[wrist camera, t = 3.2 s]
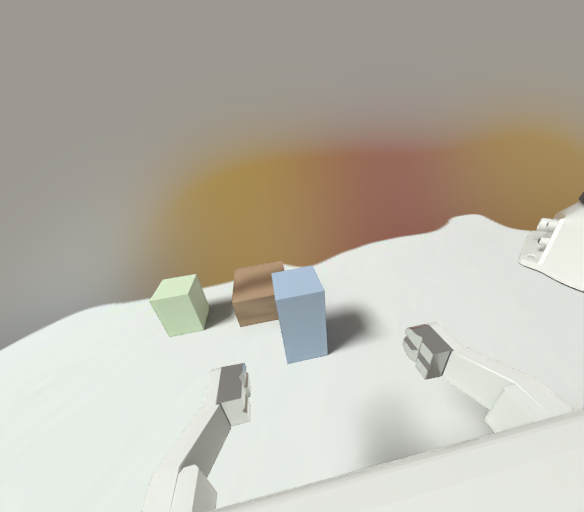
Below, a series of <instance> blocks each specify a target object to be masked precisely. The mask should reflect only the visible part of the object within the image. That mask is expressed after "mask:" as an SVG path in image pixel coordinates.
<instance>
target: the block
mask: <svg viewBox="0 0 584 512" xmlns="http://www.w3.org/2000/svg"><path fill="white" fill-rule="evenodd" d="M149 302H150V303H151V305H152V307H153V309H154V311H155V312H156V314H157V316H158V318H159V319H160V321H161V323H162V325H163V326H164V328H165V330H166V332H167V334H168V335H169V337H173V336H178V335H183V334H188V333H193V332H198V331H203V330H204V328H205V324H206V320H207V316H208V312H209V308H210V307H209V305H208V302H207V300H206V297H205V295H204V292H203V290H202V287H201V285H200V282H199V280H198V277H197V274H193V275H188V276H182V277H177V278H171V279H165V280H163V281H162V282H161V284H160V285H159V287H158V288H157V290H156V291H155V293H154V294H153V296H152V298H151V299H150V301H149Z"/></svg>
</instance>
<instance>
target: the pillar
mask: <svg viewBox="0 0 584 512" xmlns="http://www.w3.org/2000/svg"><path fill="white" fill-rule="evenodd" d="M271 274H272V281H273V288H274V295H275V302H276V307H277V312H278V317H279V322H280V327H281V332H282V337H283V343H284V348H285V353H286V358H287V363H288V364H290V363H294V362H299V361H303V360H308V359H312V358H317V357H321V356H326V355H328V352H327V331H326V311H325V291H324V289H323V287H322V285H321V283H320V280H319V278H318V276H317V274H316V272H315V270H314V268H313V266H308V267H303V268H297V269H292V270H286V271H281V272H276V273H271Z"/></svg>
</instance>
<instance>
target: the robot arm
mask: <svg viewBox="0 0 584 512" xmlns="http://www.w3.org/2000/svg"><path fill="white" fill-rule="evenodd" d="M579 200H580V201H579V202H578V203H576V204H574V205H572V206H570V207H568V208H566V209H564V210H562V211H560V212H558V213H557V214H556V215H555V217H554V219H547V218H542V219H541V220H540V222H539V225H538V227H537V230H538V231H531V232H530V233H529V235H528V236H527V239H526V241H525V244H524V247H523V249H522V252H521V254H520V257H519V259H518V262H519V263H520V264H522V265H524V266H527V267H529V268H532V269H535V270H538V271H540V272H542V273H544V274H546V275H548V276H550V277H551V278H553V279H555V280H557V281H559V282H561V283H563V284H565V285H568V286H570V287H573V288H575V289H578V290H581V291H584V192H583V193H582V195H581V196H580V197H579ZM405 334H406V335H407V336H406V337H405V338H404V339H403V347H404V350H405V352H406V354H407V356H408V357H409V359H411V360H413V361H415V362H416V368H417V369H418V371H419V372H420V373H421V375H422V376H423V378H424V379H425V380H426V379H431V378H436V377H441V376H442V378H444V379H445V380H447V381H448V382H450V383H451V384H453V385H454V386H455V387H457V388H458V389H460V390H461V391H463V392H464V393H466V394H467V395H469V396H470V397H472V398H473V399H475V400H476V401H477V402H479V403H480V404H482V405H483V406H485V407H486V408H488V409H489V412H488V414H487V415H486V417H485V422H486V423H487V424H488V425H489V427H490V428H491V429H492V430H493V431H494V433H493V434H489V435H485V436H482V437H478V438H474V439H471V440H467V441H463V442H460V443H456V444H452V445H449V446H445V447H442V448H438V449H434V450H431V451H427V452H423V453H420V454H416V455H412V456H409V457H405V458H401V459H398V460H394V461H390V462H387V463H383V464H379V465H376V466H372V467H368V468H365V469H361V470H357V471H354V472H350V473H346V474H343V475H339V476H335V477H332V478H328V479H324V480H321V481H317V482H313V483H310V484H306V485H302V486H299V487H295V488H291V489H288V490H284V491H280V492H277V493H273V494H269V495H266V496H262V497H258V498H255V499H251V500H247V501H244V502H240V503H236V504H233V505H229V506H225V507H222V508H218V509H216V499H217V492H216V490H215V489H214V488H213V486H212V485H211V484H210V482H209V481H208V480H207V477H208V475H209V473H210V471H211V469H212V466H213V464H214V462H215V460H216V458H217V456H218V454H219V452H220V450H221V448H222V446H223V444H224V442H225V440H226V438H227V436H228V434H229V431H230V429H231V426H235V425H239V424H243V423H246V422H250V402H249V399H248V398H249V397H250V395H251V387H250V379H249V375H248V373H247V372H246V366H245V363H242V364H236V365H231V366H226V367H220V368H216V369H211V371H210V373H209V379H208V384H207V389H206V394H205V400H204V405H203V408H200V409H199V410H198V411H197V413H196V414H195V416H194V417H193V418H192V420H191V421H190V423H189V424H188V425H187V427H186V428H185V430H184V431H183V432H182V434H181V435H180V437H179V438H178V439H177V441H176V442H175V444H174V445H173V446H172V448H171V449H170V451H169V452H168V453H167V455H166V456H165V458H164V459H163V460H162V462H161V463H160V465H159V466H158V467H157V469H156V470H155V472H154V473H153V475H152V479H151V482H150V485H149V488H148V492H147V495H146V498H145V502H144V505H143V508H142V511H141V512H584V409H581V410H577V411H574V410H573V409H571V408H570V407H569V406H568V405H567V404H565V403H564V402H563V401H562V400H561V399H559V398H558V397H557V396H556V395H555V394H553V393H552V392H551V391H550V390H549V389H547V388H546V387H545V386H544V385H543V384H541V383H540V382H539V381H538V380H536V379H535V378H533V377H531V376H529V375H527V374H525V373H522V372H520V371H518V370H516V369H514V368H511V367H509V366H507V365H505V364H503V363H500V362H498V361H496V360H494V359H492V358H490V357H487V356H485V355H483V354H481V353H479V352H476V351H474V350H472V349H470V348H464V347H463V346H462V345H461V344H460V343H459V342H458V341H457V340H456V339H455V338H454V337H453V336H452V335H451V334H450V333H448V332H447V331H446V330H445V329H444V328H443V327H442V326H441V325H440V324H439V323H437V322H433V323H428V324H422V325H418V326H414V327H409V328H407V329H406V330H405Z"/></svg>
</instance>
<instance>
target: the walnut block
mask: <svg viewBox="0 0 584 512" xmlns="http://www.w3.org/2000/svg"><path fill="white" fill-rule="evenodd" d="M281 271H284V267H283V263H282V261H278V262H273V263H267V264H261V265H256V266H251V267H244V268H239V269H235V275H234V286H233V296H232V305H233V308H234V311H235V313H236V316H237V319H238V322H239V325H240V327H243V326H248V325H252V324H257V323H262V322H267V321H272V320H277V319H279V317H278V312H277V307H276V302H275V295H274V288H273V281H272V274H271V273H276V272H281Z"/></svg>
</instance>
